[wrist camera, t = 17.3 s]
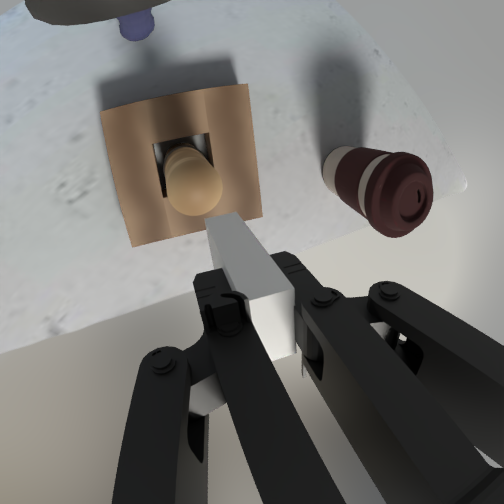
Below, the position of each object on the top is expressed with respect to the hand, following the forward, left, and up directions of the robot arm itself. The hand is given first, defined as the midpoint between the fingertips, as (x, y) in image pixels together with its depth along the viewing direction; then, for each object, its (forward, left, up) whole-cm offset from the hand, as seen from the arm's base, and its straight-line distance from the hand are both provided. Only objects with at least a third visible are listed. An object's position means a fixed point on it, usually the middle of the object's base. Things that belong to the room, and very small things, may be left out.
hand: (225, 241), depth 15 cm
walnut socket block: (0, 0, -24) cm, 24 cm away
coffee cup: (+22, -5, -25) cm, 33 cm away
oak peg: (0, 0, -24) cm, 24 cm away
